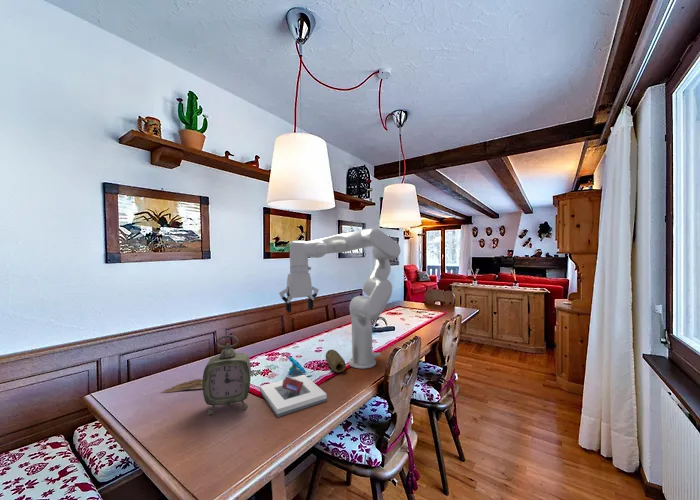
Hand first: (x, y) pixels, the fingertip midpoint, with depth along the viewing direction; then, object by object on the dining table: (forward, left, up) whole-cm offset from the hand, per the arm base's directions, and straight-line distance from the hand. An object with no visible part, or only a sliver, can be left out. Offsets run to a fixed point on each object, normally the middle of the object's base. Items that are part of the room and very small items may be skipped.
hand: (299, 310), depth 124 cm
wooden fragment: (+37, -18, -29) cm, 50 cm away
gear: (-1, -6, -29) cm, 29 cm away
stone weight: (-17, -1, -29) cm, 33 cm away
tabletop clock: (+30, +8, -28) cm, 42 cm away
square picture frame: (+9, +13, -28) cm, 32 cm away
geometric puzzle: (+9, +13, -28) cm, 32 cm away
